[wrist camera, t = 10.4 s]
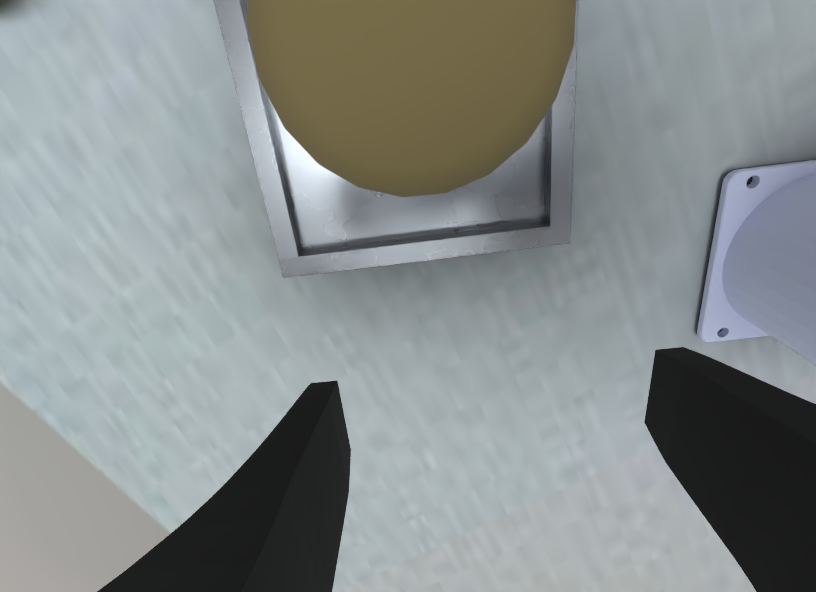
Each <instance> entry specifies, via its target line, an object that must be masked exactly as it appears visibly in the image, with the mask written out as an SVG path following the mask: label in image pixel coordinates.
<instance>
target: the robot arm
mask: <svg viewBox="0 0 816 592" xmlns="http://www.w3.org/2000/svg"><path fill="white" fill-rule="evenodd" d="M751 176H753V180H752V182H751V183H750V184H749V185H748V186H747V184H746V183H747V180H748V179H749V178H750V177H751ZM721 328H723V329H722V331H721V332H719V333H718V331H719V330H720V329H721ZM697 335H698V337H699V338H700V339H702V340H703V341H705V342H718V341H727V340H736V339H744V338H753V337H762V336H771V337H773V338H774V339H776V340H777V341H779V342H780V343H782V344H783V345H785V346H786V347H788V348H789V349H791V350H792V351H794V352H796V353H797V354H799V355H800V356H802V357H803V358H805V359H806V360H808V361H809V362H811V363H812V364H814V365H815V366H816V160H810V161H802V162H794V163H786V164H778V165H769V166H761V167H753V168H745V169H737V170H734V171H731V172H730V173H729V174H727V176H726V177H725V178H724V181H723V183H722V189H721V195H720V201H719V206H718V212H717V218H716V224H715V230H714V236H713V241H712V247H711V253H710V259H709V265H708V271H707V276H706V282H705V288H704V294H703V300H702V306H701V311H700V317H699V323H698V329H697ZM645 424H646V426H647V428H648V430H649V432H650V434H651V436H652V438H653V440H654V442H655V444H656V445H657V447H658V449H659V451H660V453H661V454H662V456H663V458H664V460H665V461H666V463H667V465H668V466H669V467H670V469H671V470H672V472H673V473H674V475H675V476H676V477H677V479H678V480H679V482H680V483H681V485H682V486H683V487H684V489H685V490H686V492H687V493H688V494H689V496H690V497H691V499H692V500H693V501H694V503H695V504H696V505H697V507H698V508H699V510H700V511H701V512H702V514H703V515H704V516H705V518H706V519H707V521H708V522H709V523H710V525H711V526H712V528H713V529H714V530H715V532H716V533H717V534H718V536H719V537H720V539H721V540H722V541H723V543H724V544H725V546H726V547H727V548H728V550H729V551H730V552H731V554H732V555H733V557H734V558H735V559H736V561H737V562H738V564H739V565H740V567H741V568H742V570H743V571H744V573H745V574H746V576H747V577H748V579H749V580H750V582H751V583H752V585H753V587H754V588H755V590H756V592H816V404H814V403H811V402H809V401H806V400H804V399H802V398H799V397H797V396H795V395H793V394H790V393H788V392H786V391H783V390H781V389H779V388H777V387H774V386H772V385H770V384H768V383H766V382H763V381H761V380H759V379H757V378H754V377H752V376H750V375H748V374H746V373H743V372H741V371H739V370H737V369H734V368H732V367H730V366H728V365H726V364H723V363H721V362H719V361H716V360H714V359H712V358H710V357H707V356H705V355H702V354H700V353H697V352H695V351H692V350H689V349H687V348H684V347H680V348H670V349H660V350H656V351H655V358H654V364H653V371H652V377H651V384H650V390H649V397H648V403H647V410H646V416H645ZM350 454H351V449H350V444H349V439H348V434H347V428H346V423H345V418H344V413H343V408H342V403H341V398H340V393H339V387H338V382H337V381H330V382H319V383H311V384H310V385H309V386H308V387H307V388H306V389H305V391H304V392H303V393H302V394H301V396H300V397H299V398H298V399H297V401H296V402H295V403H294V405H293V406H292V407H291V408H290V410H289V411H288V412H287V413H286V415H285V416H284V417H283V418H282V420H281V421H280V422H279V423H278V425H277V426H276V427H275V428H274V429H273V431H272V432H271V433H270V434H269V435H268V437H267V438H266V439H265V440H264V441H263V443H262V444H261V445H260V446H259V447H258V449H257V450H256V451H255V452H254V453H253V454H252V455H251V456H250V458H249V459H248V460H247V461H246V462H245V463H244V464H243V465H242V466H241V467H240V468H239V470H238V471H237V472H236V473H235V474H234V475H233V476H232V477H231V478H230V479H229V480H228V481H227V482H226V483H225V484H224V485H223V486H222V487H221V488H220V489H219V490H218V491H217V492H216V493H215V494H214V495H213V496H212V497H211V498H210V499H209V500H208V501H207V502H206V503H205V504H204V505H203V506H202V507H200V508H199V509H198V510H197V511H196V512H195V513H194V514H193V515H192V516H191V517H190V518H189V519H187V520H186V521H185V522H184V523H183V524H182V525H181V526H179V527H178V528H177V529H176V530H175V531H174V532H172V533H171V534H170V535H169V536H167V537H166V538H165V539H164V540H163V541H161V542H160V543H159V544H158V545H157V546H155V547H154V548H153V549H152V550H150V551H149V552H148V553H147V554H145V555H144V556H143V557H142V558H141V559H139V560H138V561H137V562H136V563H135V564H133V565H132V566H131V567H130V568H128V569H127V570H126V571H124V572H123V573H122V574H121V575H119V576H118V577H117V578H115V579H114V580H112V581H111V582H110V583H108V584H107V585H106V586H104V587H103V588H102V589H100V590H99V591H98V592H332V588H333V582H334V576H335V570H336V564H337V558H338V553H339V547H340V541H341V535H342V529H343V523H344V517H345V511H346V505H347V499H348V493H349V476H350Z"/></svg>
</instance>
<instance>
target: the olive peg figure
mask: <svg viewBox="0 0 816 592" xmlns="http://www.w3.org/2000/svg"><path fill="white" fill-rule="evenodd" d="M575 14H576V0H248V6H247V24H248V29H249V33H250V38H251V43H252V48H253V53H254V58H255V63H256V67H257V72H258V77H259V79H260V81H261V83H262V85H263V87H264V89H265V91H266V93H267V95H268V97H269V99H270V101H271V103H272V105H273V107H274V109H275V110H276V112H277V114H278V116H279V118H280V120H281V122H282V124H283V126H284V128H285V129H286V130H287V131H288V132H289V133H290V135H291V136H292V137H293V138H294V139H295V140H296V141H297V142H298V143H299V144H300V145H301V146H302V147H303V148H304V149H305V151H306V152H307V153H308V154H309V155H310V156H311V157H312V158H313V159H314V160H315V161H316V162H317V163H318V164H319V165H320V166H322V167H324V168H326V169H327V170H329V171H331V172H332V173H334V174H336V175H338V176H339V177H341V178H343V179H345V180H346V181H348V182H350V183H351V184H353V185H355V186H357V187H358V188H362V189H367V190H371V191H376V192H380V193H385V194H389V195H394V196H398V197H411V196H421V195H432V194H442V193H447V192H450V191H452V190H454V189H457V188H459V187H461V186H464V185H466V184H468V183H471V182H473V181H475V180H478V179H480V178H482V177H485V176H487V175H489V174H491V173H492V172H493V171H494V170H495V169H496V168H498V167H499V166H500V165H501V164H502V163H504V162H505V161H506V160H507V159H508V158H509V157H511V156H512V155H513V154H514V153H515V152H516V151H518V150H519V149H520V148H521V147H522V146H524V145H525V144H526V143H527V142H528V140H529V139H530V137H531V136H532V134H533V133H534V131H535V130H536V128H537V127H538V125H539V124H540V122H541V121H542V119H543V118H544V116H545V115H546V113H547V112H548V110H549V109H550V107H551V106H552V104H553V103H554V101H555V100H556V98H557V95H558V92H559V89H560V86H561V83H562V80H563V77H564V74H565V71H566V67H567V64H568V61H569V58H570V55H571V52H572V49H573V46H574V33H575Z"/></svg>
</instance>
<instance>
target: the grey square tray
mask: <svg viewBox="0 0 816 592" xmlns="http://www.w3.org/2000/svg"><path fill="white" fill-rule="evenodd" d="M214 4H215V8H216V12H217V16H218V20H219V24H220V28H221V32H222V36H223V40H224V44H225V48H226V52H227V56H228V60H229V64H230V68H231V72H232V76H233V80H234V84H235V88H236V92H237V96H238V100H239V104H240V108H241V112H242V115H243V119H244V123H245V127H246V131H247V135H248V139H249V143H250V147H251V151H252V155H253V159H254V163H255V167H256V171H257V175H258V179H259V183H260V187H261V191H262V195H263V199H264V203H265V207H266V211H267V215H268V219H269V223H270V227H271V231H272V235H273V239H274V243H275V247H276V251H277V255H278V259H279V263H280V267H281V271H282V275H283V278H286V277H294V276H302V275H311V274H319V273H327V272H336V271H344V270H352V269H360V268H369V267H377V266H385V265H394V264H402V263H410V262H419V261H427V260H435V259H443V258H452V257H460V256H468V255H477V254H485V253H493V252H501V251H510V250H518V249H526V248H535V247H543V246H551V245H560V244H568V243H570V233H571V204H572V175H573V146H574V117H575V87H576V58H577V29H578V0H576V14H575V33H574V46H573V49H572V52H571V55H570V58H569V61H568V64H567V67H566V71H565V74H564V77H563V80H562V83H561V86H560V89H559V92H558V95H557V98H556V100H555V101H554V103H553V104H552V106H551V107H550V109H549V110H548V112H547V113H546V115H545V116H544V118H543V119H542V121H541V122H540V124H539V125H538V127H537V128H536V130H535V131H534V133H533V134H532V136H531V137H530V139H529V140H528V142H527V143H526V144H525V145H524V146H522V147H521V148H520V149H519V150H518V151H516V152H515V153H514V154H513V155H512V156H511V157H509V158H508V159H507V160H506V161H505V162H504V163H502V164H501V165H500V166H499V167H498V168H496V169H495V170H494V171H493V172H492V173H491V174H489V175H487V176H485V177H482V178H480V179H478V180H475V181H473V182H471V183H468V184H466V185H464V186H461V187H459V188H457V189H454V190H452V191H450V192H447V193H442V194H432V195H421V196H411V197H398V196H394V195H389V194H385V193H380V192H376V191H371V190H367V189H362V188H358V187H357V186H355V185H353V184H351V183H350V182H348V181H346V180H345V179H343V178H341V177H339V176H338V175H336V174H334V173H332V172H331V171H329V170H327V169H326V168H324V167H322V166H320V165H319V164H318V163H317V162H316V161H315V160H314V159H313V158H312V157H311V156H310V155H309V154H308V153H307V152H306V151H305V149H304V148H303V147H302V146H301V145H300V144H299V143H298V142H297V141H296V140H295V139H294V138H293V137H292V136H291V135H290V133H289V132H288V131H287V130H286V129H285V128H284V126H283V124H282V122H281V120H280V118H279V116H278V114H277V112H276V110H275V109H274V107H273V105H272V103H271V101H270V99H269V97H268V95H267V93H266V91H265V89H264V87H263V85H262V83H261V81H260V79H259V77H258V72H257V67H256V63H255V58H254V53H253V48H252V43H251V38H250V33H249V29H248V24H247V6H248V0H214Z"/></svg>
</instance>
